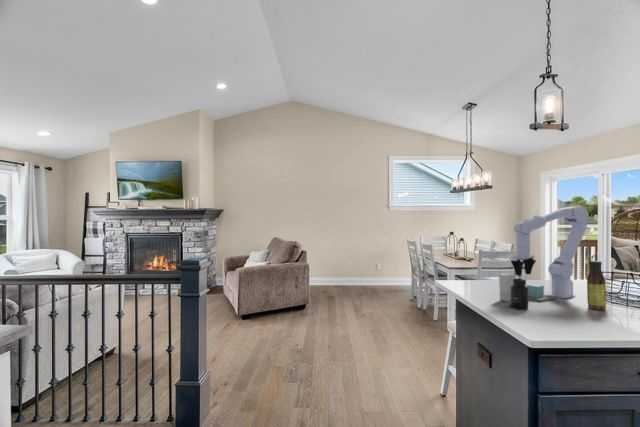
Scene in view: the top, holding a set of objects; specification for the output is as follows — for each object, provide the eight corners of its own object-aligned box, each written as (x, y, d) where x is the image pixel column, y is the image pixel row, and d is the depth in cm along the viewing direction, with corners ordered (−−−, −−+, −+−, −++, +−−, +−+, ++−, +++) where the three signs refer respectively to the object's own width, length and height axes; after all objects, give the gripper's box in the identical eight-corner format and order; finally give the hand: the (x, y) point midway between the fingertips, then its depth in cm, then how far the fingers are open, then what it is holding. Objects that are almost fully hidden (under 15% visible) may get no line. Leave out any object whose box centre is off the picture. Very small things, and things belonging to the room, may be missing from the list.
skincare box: (517, 301, 167) (517, 274, 167) (512, 302, 164) (512, 276, 164) (503, 298, 172) (503, 273, 172) (498, 300, 169) (498, 274, 169)
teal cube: (533, 294, 177) (533, 284, 177) (543, 296, 172) (543, 285, 172) (526, 295, 174) (526, 285, 174) (537, 297, 170) (537, 286, 170)
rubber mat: (530, 294, 181) (530, 292, 181) (555, 299, 171) (555, 297, 171) (515, 297, 176) (515, 294, 176) (540, 302, 165) (540, 300, 165)
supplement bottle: (510, 308, 155) (510, 280, 155) (510, 305, 161) (510, 277, 161) (528, 310, 151) (528, 281, 151) (528, 306, 157) (528, 278, 157)
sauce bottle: (609, 311, 150) (609, 262, 150) (592, 310, 151) (592, 262, 151) (600, 307, 156) (600, 260, 156) (584, 306, 158) (584, 260, 158)
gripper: (524, 245, 184) (524, 272, 184) (506, 246, 177) (506, 274, 177) (538, 246, 178) (538, 274, 178) (520, 247, 171) (520, 277, 171)
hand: (523, 274), depth 177 cm, fingers open, 7 cm apart
